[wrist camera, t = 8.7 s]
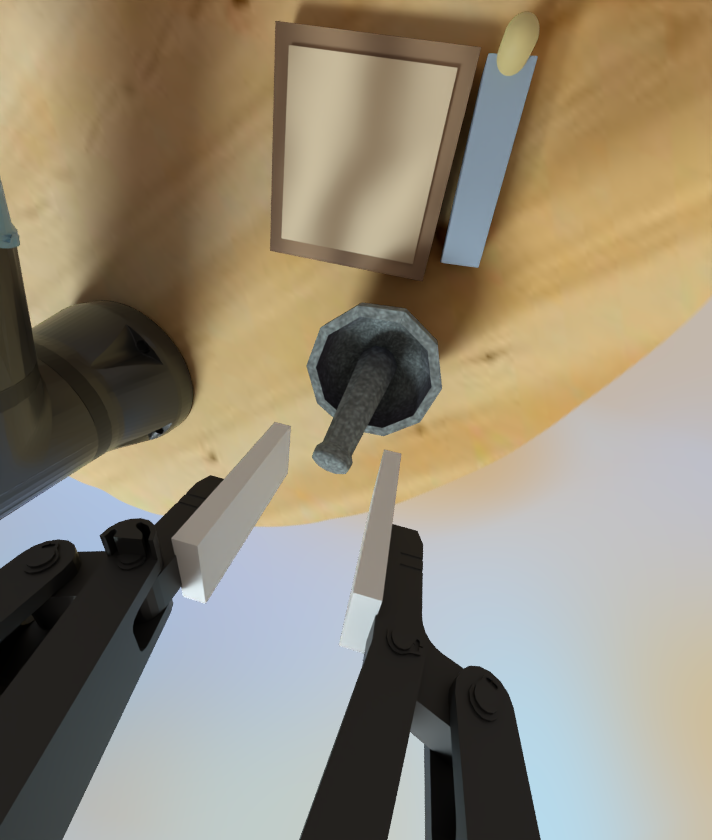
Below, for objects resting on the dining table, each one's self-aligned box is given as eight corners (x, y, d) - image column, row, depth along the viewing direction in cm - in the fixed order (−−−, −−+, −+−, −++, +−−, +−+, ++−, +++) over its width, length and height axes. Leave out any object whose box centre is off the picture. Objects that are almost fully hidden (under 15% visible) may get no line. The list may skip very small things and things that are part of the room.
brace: (485, 59, 19) (499, 10, 15) (528, 62, 18) (555, 12, 14) (440, 261, 24) (442, 263, 20) (473, 266, 24) (481, 268, 20)
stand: (280, 250, 26) (268, 250, 24) (288, 40, 20) (273, 17, 18) (422, 279, 25) (422, 281, 23) (476, 65, 19) (482, 44, 17)
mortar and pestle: (359, 271, 26) (312, 286, 15) (460, 323, 26) (482, 372, 16) (314, 384, 31) (258, 451, 21) (397, 426, 32) (383, 511, 21)
